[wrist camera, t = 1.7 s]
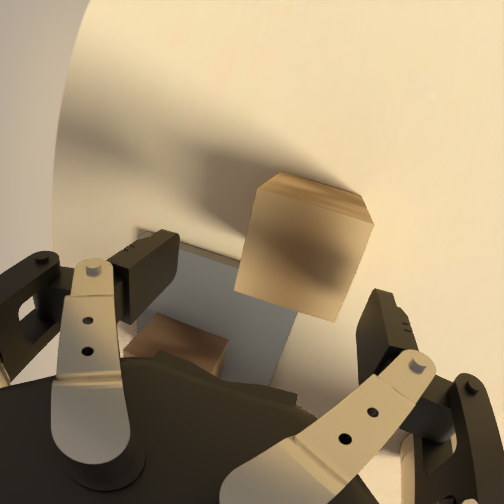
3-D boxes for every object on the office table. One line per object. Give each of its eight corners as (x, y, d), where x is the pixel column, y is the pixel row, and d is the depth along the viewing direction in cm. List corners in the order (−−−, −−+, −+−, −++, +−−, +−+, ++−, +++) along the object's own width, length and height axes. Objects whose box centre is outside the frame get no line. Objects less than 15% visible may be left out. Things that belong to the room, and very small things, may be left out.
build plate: (306, 282, 20) (305, 290, 19) (258, 407, 26) (255, 415, 25) (146, 231, 22) (139, 235, 21) (143, 361, 27) (138, 367, 27)
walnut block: (228, 339, 22) (204, 386, 18) (217, 388, 25) (196, 430, 20) (157, 312, 23) (123, 349, 18) (156, 362, 25) (128, 399, 21)
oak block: (361, 196, 17) (374, 224, 12) (335, 269, 19) (334, 322, 14) (280, 171, 18) (256, 188, 12) (262, 246, 20) (233, 290, 14)
